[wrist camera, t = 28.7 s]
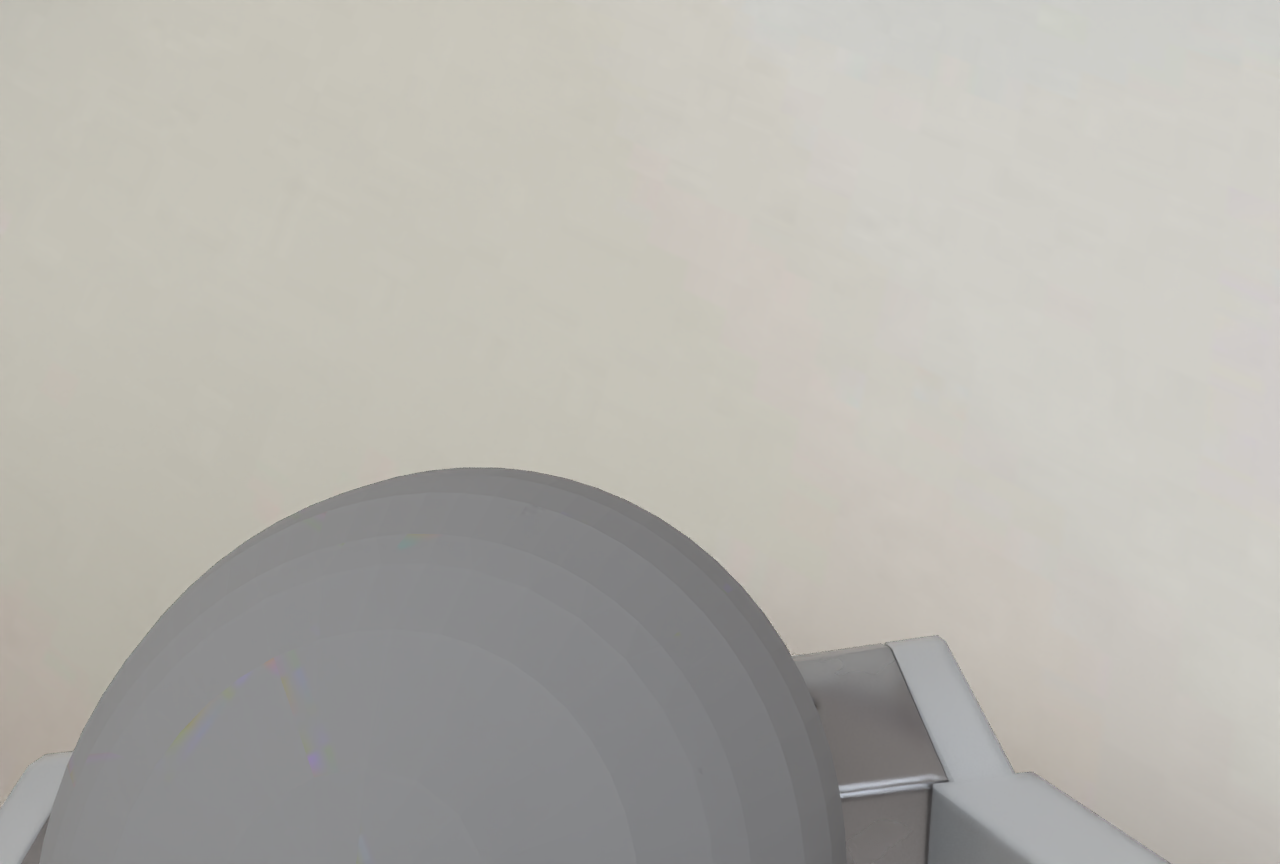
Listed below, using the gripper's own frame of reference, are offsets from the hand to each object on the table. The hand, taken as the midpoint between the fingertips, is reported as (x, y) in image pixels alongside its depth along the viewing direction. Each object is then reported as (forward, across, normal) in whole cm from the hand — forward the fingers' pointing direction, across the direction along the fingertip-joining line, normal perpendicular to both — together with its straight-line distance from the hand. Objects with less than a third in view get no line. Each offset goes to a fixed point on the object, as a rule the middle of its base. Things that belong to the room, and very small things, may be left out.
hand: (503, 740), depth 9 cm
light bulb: (+4, 0, +4) cm, 6 cm away
